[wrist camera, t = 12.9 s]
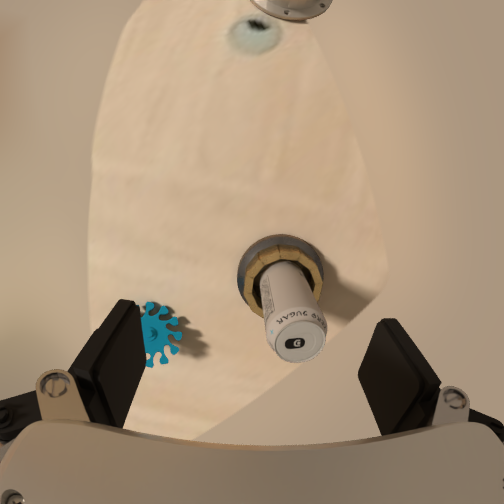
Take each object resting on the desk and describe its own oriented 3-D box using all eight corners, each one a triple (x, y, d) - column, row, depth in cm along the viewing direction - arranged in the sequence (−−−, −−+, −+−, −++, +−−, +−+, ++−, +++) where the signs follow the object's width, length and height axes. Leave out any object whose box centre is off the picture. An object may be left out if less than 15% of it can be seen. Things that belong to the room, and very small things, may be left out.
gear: (194, 323, 41) (161, 380, 36) (190, 329, 46) (161, 379, 41) (133, 284, 41) (98, 338, 36) (136, 294, 46) (105, 342, 41)
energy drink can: (302, 296, 40) (328, 363, 26) (260, 299, 40) (268, 370, 26) (302, 256, 38) (334, 312, 24) (258, 259, 38) (266, 318, 24)
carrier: (242, 229, 39) (242, 238, 34) (328, 239, 39) (337, 249, 35) (233, 307, 42) (232, 323, 38) (311, 314, 43) (317, 330, 39)
